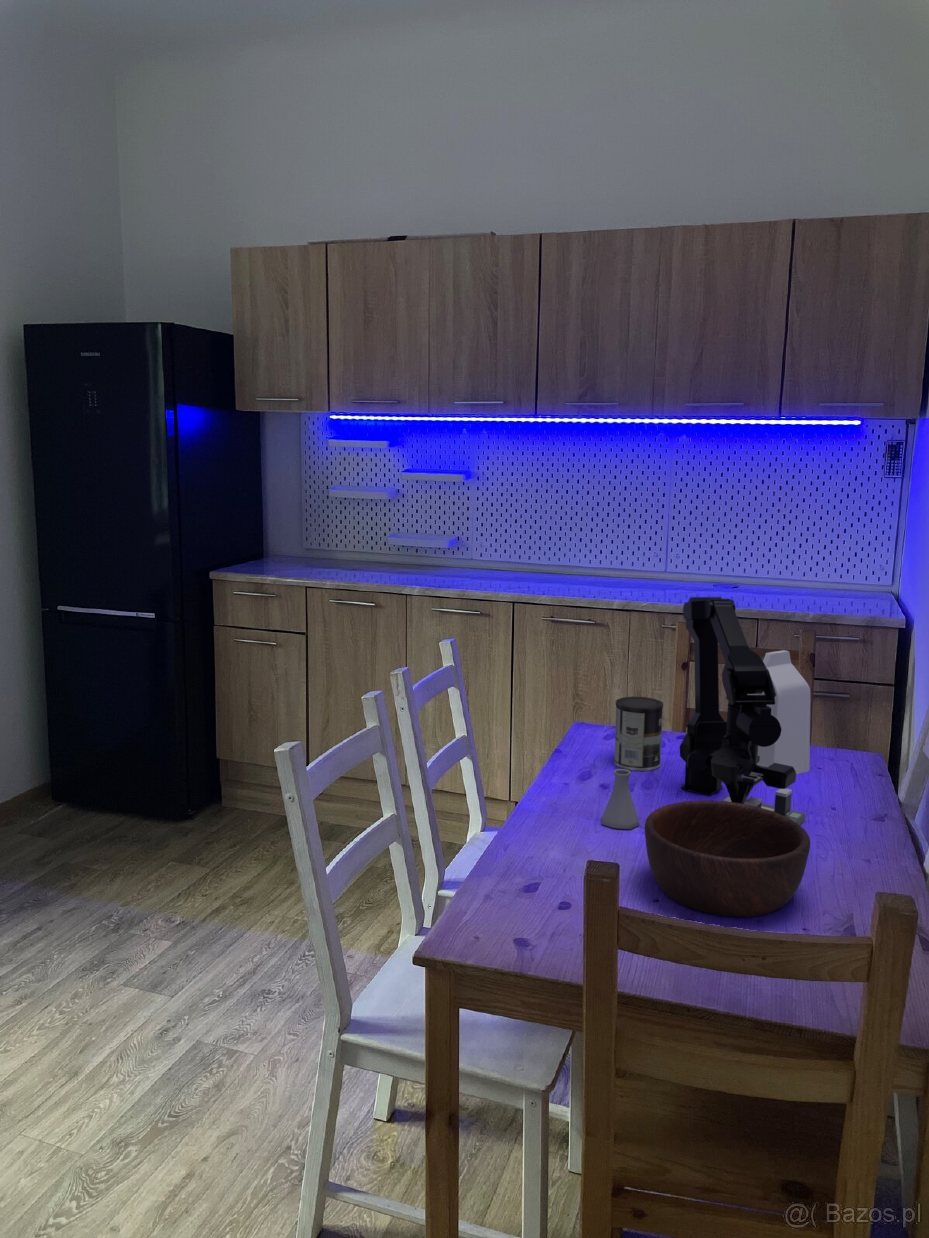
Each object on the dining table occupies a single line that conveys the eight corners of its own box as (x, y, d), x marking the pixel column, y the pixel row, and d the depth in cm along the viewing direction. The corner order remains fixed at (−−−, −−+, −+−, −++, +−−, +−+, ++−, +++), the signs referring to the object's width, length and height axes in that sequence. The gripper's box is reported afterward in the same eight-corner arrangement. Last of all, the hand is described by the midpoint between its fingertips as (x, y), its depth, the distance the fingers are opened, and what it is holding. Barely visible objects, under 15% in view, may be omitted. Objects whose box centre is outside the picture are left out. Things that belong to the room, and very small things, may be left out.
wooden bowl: (819, 935, 139) (824, 867, 137) (642, 918, 143) (645, 853, 141) (792, 863, 163) (796, 805, 161) (641, 851, 167) (644, 794, 165)
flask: (644, 819, 181) (646, 768, 180) (633, 833, 175) (636, 780, 173) (606, 813, 184) (608, 763, 183) (595, 826, 178) (597, 774, 176)
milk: (772, 780, 204) (781, 660, 199) (730, 765, 213) (737, 650, 209) (809, 770, 210) (818, 654, 206) (766, 756, 220) (774, 644, 215)
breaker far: (774, 812, 181) (775, 791, 180) (780, 807, 183) (781, 787, 182) (784, 814, 180) (786, 794, 179) (790, 810, 182) (791, 789, 181)
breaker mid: (743, 822, 176) (744, 801, 175) (749, 817, 178) (751, 796, 177) (754, 824, 174) (755, 803, 174) (760, 819, 177) (761, 799, 176)
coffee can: (655, 756, 219) (658, 696, 216) (664, 771, 209) (667, 708, 206) (610, 756, 219) (612, 695, 216) (616, 771, 209) (619, 707, 206)
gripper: (675, 730, 174) (671, 812, 177) (776, 750, 163) (770, 838, 166) (701, 717, 183) (697, 795, 186) (799, 736, 172) (793, 819, 174)
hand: (737, 811), depth 178 cm, fingers closed
